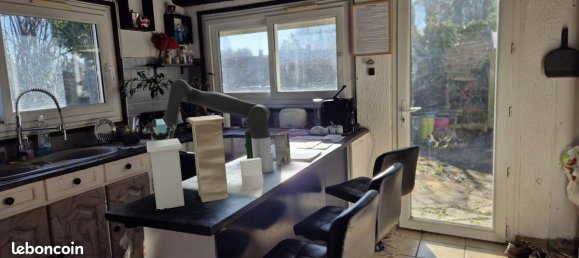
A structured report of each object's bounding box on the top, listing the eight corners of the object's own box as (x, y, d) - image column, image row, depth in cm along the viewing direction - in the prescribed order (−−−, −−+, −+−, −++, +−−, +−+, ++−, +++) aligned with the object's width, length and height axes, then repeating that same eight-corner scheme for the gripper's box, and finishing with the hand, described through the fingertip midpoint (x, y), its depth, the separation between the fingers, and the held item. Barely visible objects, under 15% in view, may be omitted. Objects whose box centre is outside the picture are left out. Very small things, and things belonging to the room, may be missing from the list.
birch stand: (195, 192, 166) (187, 117, 162) (223, 188, 170) (216, 115, 166) (201, 204, 150) (193, 121, 146) (232, 199, 154) (225, 118, 150)
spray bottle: (268, 158, 228) (265, 115, 224) (253, 161, 222) (249, 117, 218) (258, 156, 236) (255, 115, 233) (243, 159, 230) (240, 117, 227)
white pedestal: (153, 199, 161) (146, 141, 158) (183, 194, 165) (177, 138, 162) (154, 212, 144) (146, 148, 141) (187, 207, 148) (181, 144, 145)
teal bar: (156, 126, 167) (155, 119, 166) (163, 125, 168) (162, 118, 168) (158, 133, 145) (157, 125, 144) (166, 132, 146) (165, 124, 145)
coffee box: (279, 161, 219) (277, 132, 216) (291, 161, 217) (289, 132, 215) (275, 165, 210) (273, 135, 208) (287, 164, 208) (285, 134, 206)
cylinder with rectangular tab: (245, 190, 165) (243, 162, 163) (239, 185, 173) (237, 159, 172) (266, 187, 168) (263, 159, 167) (259, 182, 177) (257, 156, 175)
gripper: (143, 130, 176) (140, 113, 161) (175, 127, 181) (176, 110, 166) (144, 145, 174) (142, 130, 159) (177, 142, 178) (178, 126, 163)
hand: (159, 120), depth 162 cm, fingers closed on teal bar, 3 cm apart
